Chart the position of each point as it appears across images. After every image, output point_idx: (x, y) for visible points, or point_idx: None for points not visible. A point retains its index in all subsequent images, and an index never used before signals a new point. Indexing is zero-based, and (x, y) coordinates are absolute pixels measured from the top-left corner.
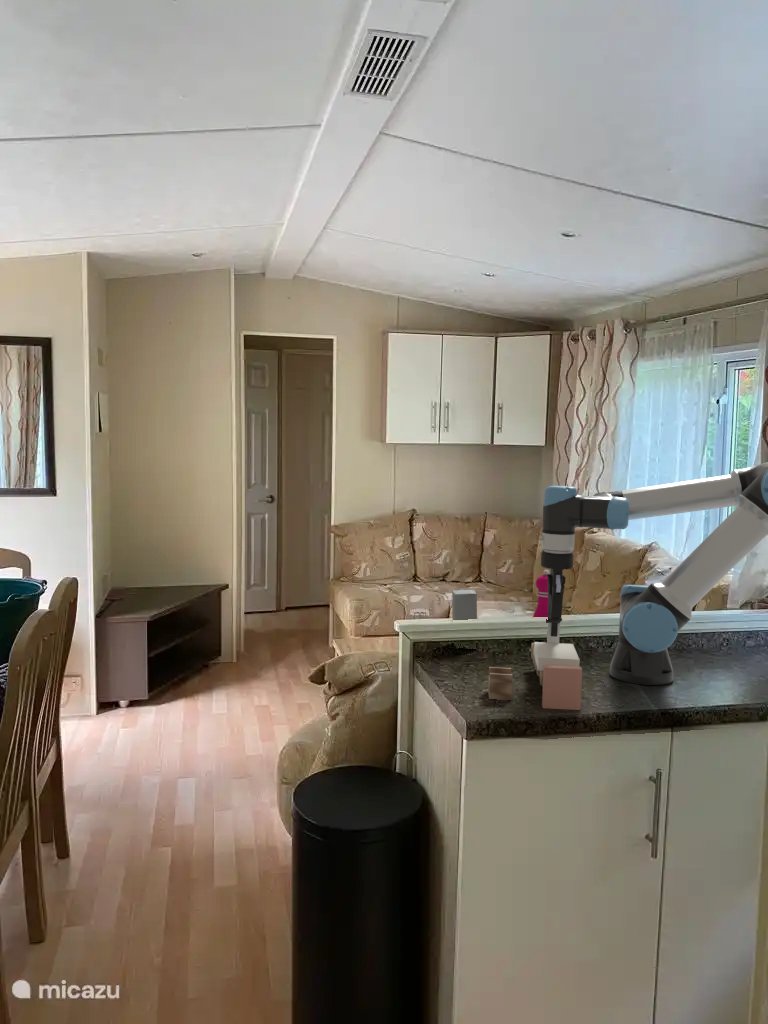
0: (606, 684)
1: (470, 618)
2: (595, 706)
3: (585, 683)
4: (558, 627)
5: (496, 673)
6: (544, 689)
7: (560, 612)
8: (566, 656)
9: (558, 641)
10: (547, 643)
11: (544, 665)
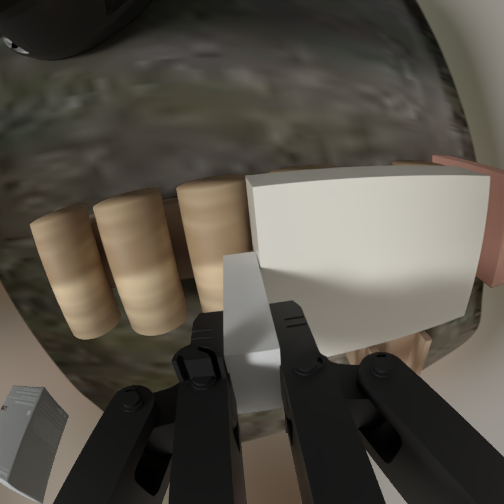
0: (189, 49)
1: (32, 447)
2: (418, 111)
3: (198, 113)
4: (274, 331)
5: (417, 369)
6: None
7: (449, 415)
8: (465, 225)
9: (260, 274)
10: None
11: (493, 285)
